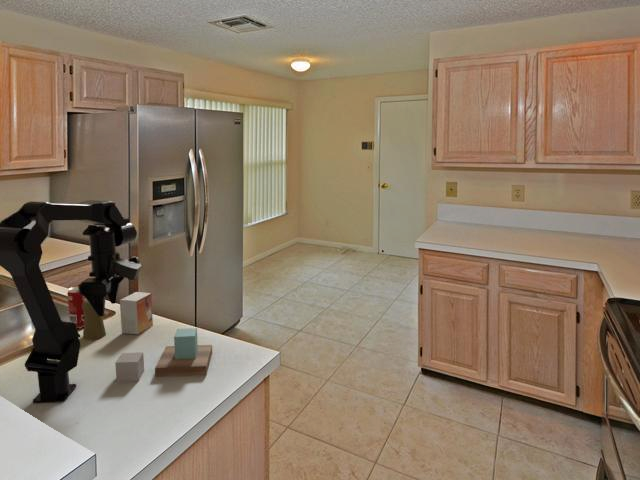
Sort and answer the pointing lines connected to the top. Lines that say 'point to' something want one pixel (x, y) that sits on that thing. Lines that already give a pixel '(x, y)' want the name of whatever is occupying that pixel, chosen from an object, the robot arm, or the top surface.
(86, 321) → the cork
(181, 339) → the teal block
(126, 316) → the small box
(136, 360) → the grey block
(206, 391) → the top surface
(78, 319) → the soda can
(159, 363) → the walnut block
